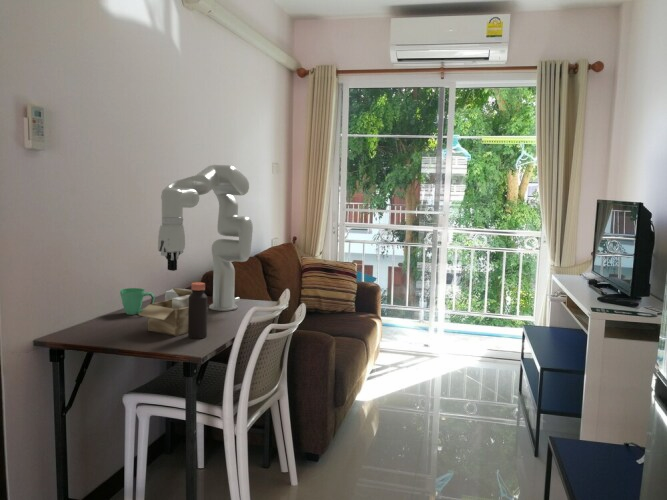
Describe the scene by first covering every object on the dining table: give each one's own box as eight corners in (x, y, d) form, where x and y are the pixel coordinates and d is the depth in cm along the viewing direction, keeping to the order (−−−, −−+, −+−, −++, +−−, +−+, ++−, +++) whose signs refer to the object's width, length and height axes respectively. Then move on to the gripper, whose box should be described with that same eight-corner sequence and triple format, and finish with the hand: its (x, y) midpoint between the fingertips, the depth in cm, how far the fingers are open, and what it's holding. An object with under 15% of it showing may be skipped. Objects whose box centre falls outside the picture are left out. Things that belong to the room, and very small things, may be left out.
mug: (115, 315, 232) (115, 291, 231) (126, 310, 242) (126, 287, 241) (149, 317, 231) (150, 293, 230) (159, 312, 241) (159, 289, 240)
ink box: (183, 320, 228) (183, 293, 227) (164, 319, 230) (164, 291, 228) (192, 316, 236) (192, 289, 235) (173, 314, 238) (174, 287, 237)
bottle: (197, 333, 210) (198, 281, 208) (210, 336, 207) (211, 283, 205) (184, 336, 205) (184, 283, 202) (197, 340, 201) (198, 285, 199)
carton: (176, 321, 226) (176, 289, 224) (205, 327, 219) (206, 294, 217) (147, 330, 211) (147, 296, 210) (177, 336, 205) (177, 301, 203)
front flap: (138, 314, 205) (138, 315, 205) (163, 319, 199) (164, 320, 200) (149, 304, 209) (149, 305, 209) (174, 308, 204) (174, 309, 204)
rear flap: (179, 297, 224) (180, 296, 224) (203, 301, 218) (204, 300, 219) (172, 288, 220) (172, 287, 220) (196, 292, 214) (197, 291, 214)
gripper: (178, 220, 216) (178, 266, 218) (149, 222, 203) (150, 271, 205) (193, 221, 212) (193, 268, 215) (165, 223, 199) (165, 274, 202)
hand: (172, 270), depth 210 cm, fingers closed
